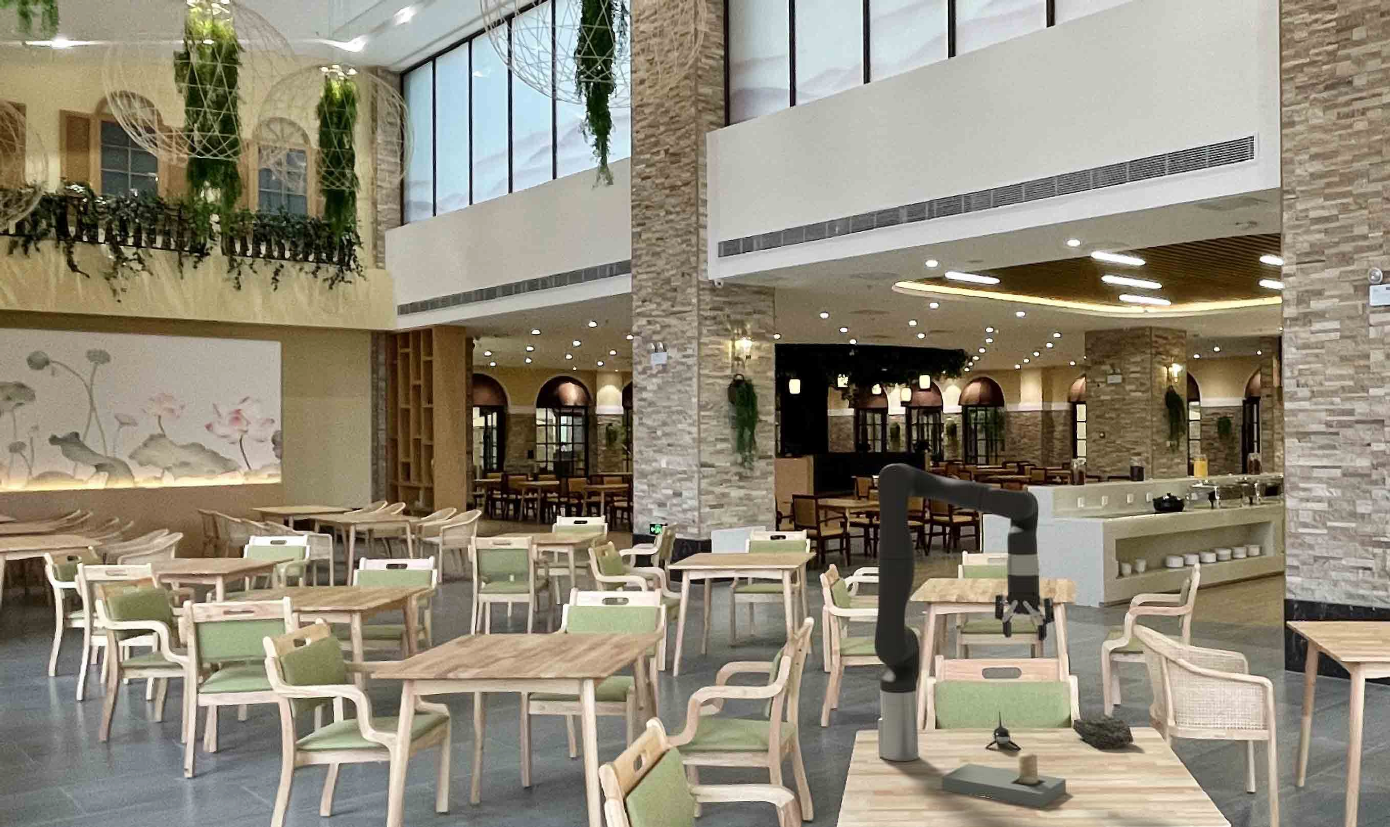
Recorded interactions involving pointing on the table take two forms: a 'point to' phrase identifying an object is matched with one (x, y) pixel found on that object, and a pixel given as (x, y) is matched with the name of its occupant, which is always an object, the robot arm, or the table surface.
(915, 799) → the table surface
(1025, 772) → the peg
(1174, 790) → the table surface
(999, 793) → the board
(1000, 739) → the toy
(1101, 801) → the table surface
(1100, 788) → the table surface
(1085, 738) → the rock
